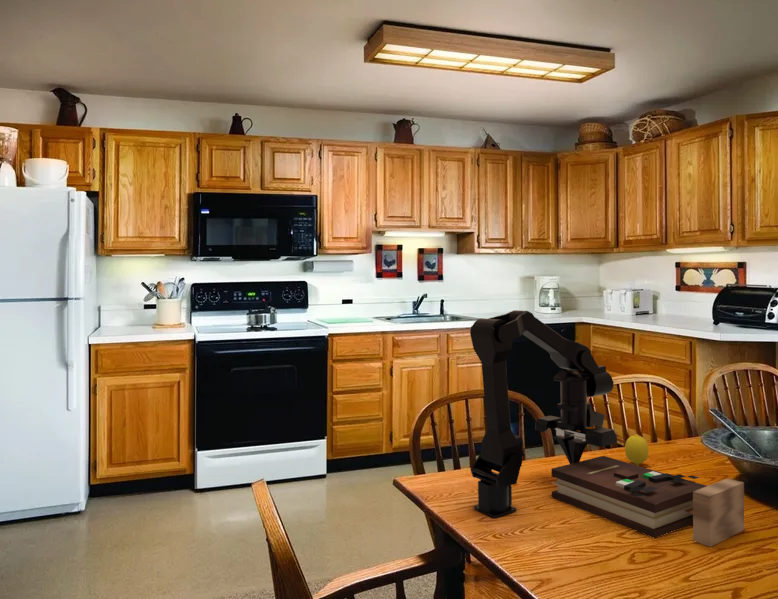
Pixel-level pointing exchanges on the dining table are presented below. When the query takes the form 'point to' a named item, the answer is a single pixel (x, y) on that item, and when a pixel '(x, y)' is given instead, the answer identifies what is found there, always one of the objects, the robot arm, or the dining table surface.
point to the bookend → (718, 511)
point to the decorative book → (627, 494)
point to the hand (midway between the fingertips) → (574, 467)
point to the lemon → (636, 449)
